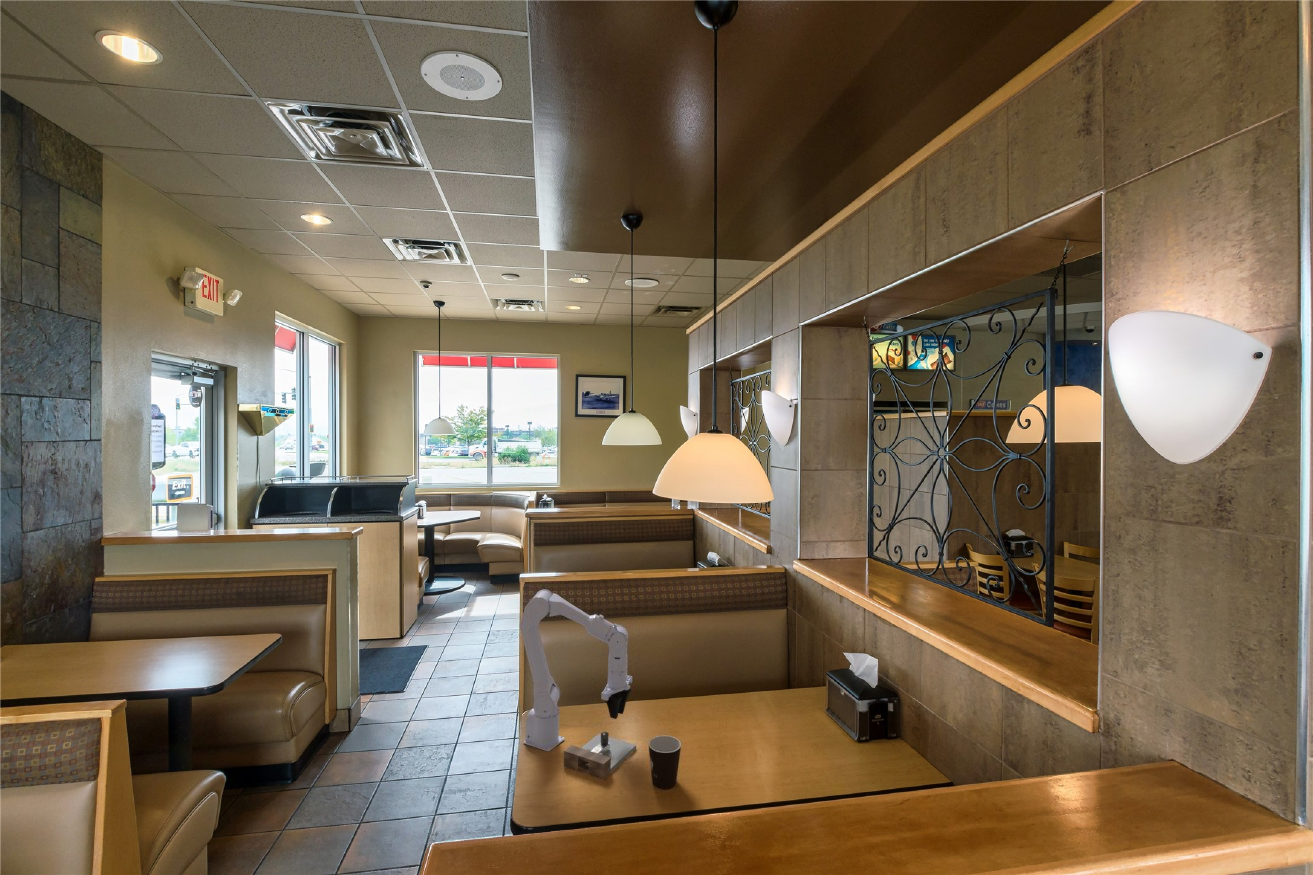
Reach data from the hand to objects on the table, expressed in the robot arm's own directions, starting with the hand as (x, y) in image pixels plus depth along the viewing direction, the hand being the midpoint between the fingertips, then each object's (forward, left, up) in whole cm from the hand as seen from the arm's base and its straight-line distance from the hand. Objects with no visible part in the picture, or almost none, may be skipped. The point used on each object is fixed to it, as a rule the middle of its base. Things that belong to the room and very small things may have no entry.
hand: (616, 715), depth 165 cm
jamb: (0, -15, -8) cm, 17 cm away
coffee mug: (+21, -9, -9) cm, 24 cm away
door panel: (0, -7, -8) cm, 11 cm away
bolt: (0, -9, -7) cm, 11 cm away
